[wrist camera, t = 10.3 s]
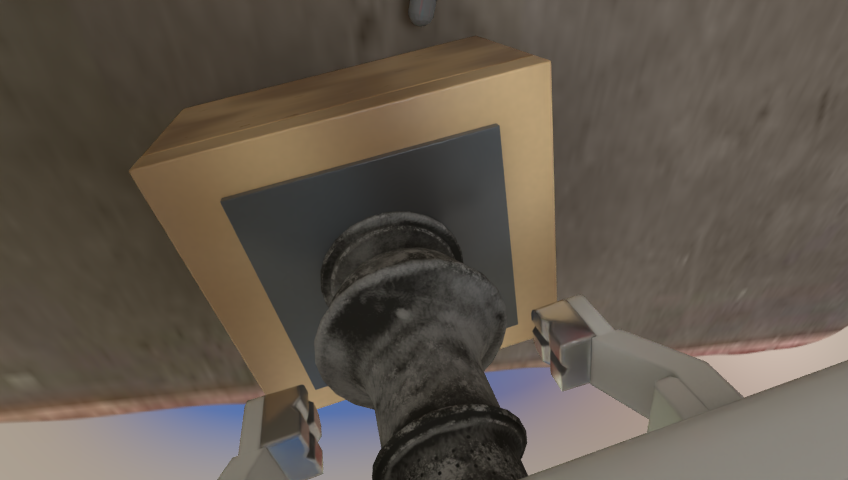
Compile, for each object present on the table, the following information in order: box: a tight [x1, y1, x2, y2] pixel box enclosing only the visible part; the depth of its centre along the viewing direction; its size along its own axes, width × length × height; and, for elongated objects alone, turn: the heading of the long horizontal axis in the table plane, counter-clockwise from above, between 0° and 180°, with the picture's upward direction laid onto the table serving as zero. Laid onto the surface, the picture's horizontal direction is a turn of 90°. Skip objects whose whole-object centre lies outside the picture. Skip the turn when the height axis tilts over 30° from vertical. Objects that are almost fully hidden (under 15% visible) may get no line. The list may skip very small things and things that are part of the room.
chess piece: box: [314, 211, 528, 480], centre depth 11 cm, size 6×6×12 cm
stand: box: [129, 36, 557, 409], centre depth 19 cm, size 13×12×7 cm
